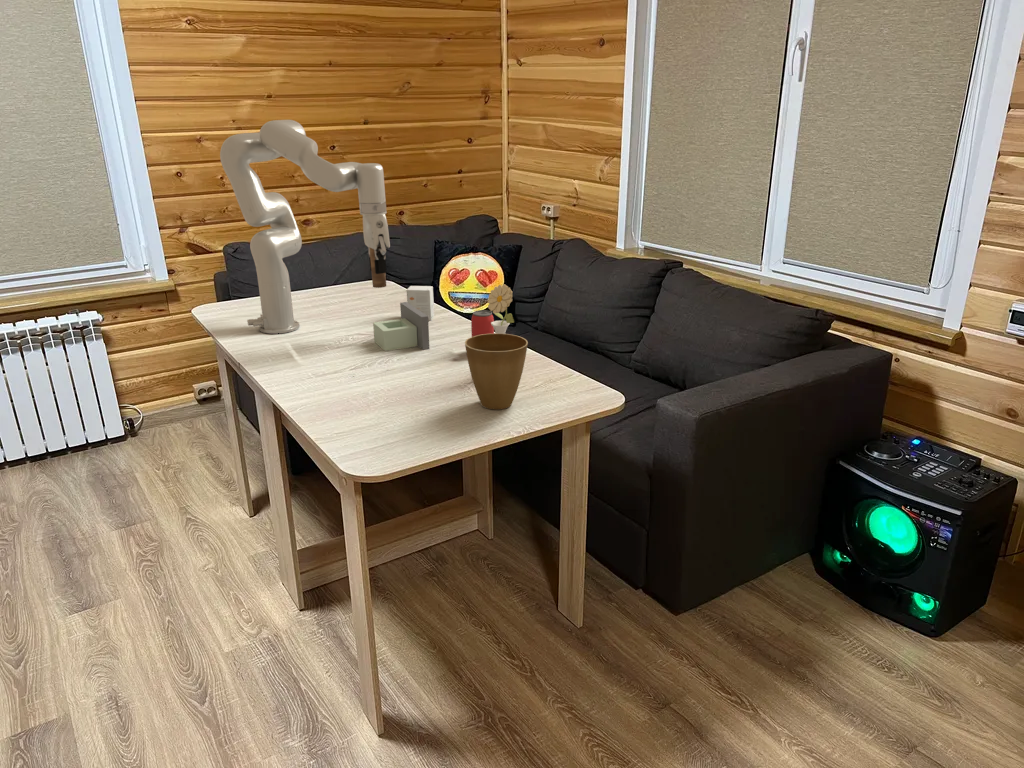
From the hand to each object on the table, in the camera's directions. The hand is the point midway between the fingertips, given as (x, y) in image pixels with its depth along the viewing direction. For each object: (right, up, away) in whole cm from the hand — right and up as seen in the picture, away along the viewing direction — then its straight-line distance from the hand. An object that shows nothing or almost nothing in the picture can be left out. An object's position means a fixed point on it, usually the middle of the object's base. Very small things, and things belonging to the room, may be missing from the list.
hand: (378, 271), depth 220 cm
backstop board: (+1, -23, +2) cm, 23 cm away
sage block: (+5, -21, +3) cm, 22 cm away
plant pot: (+36, -38, -37) cm, 64 cm away
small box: (+9, -11, +33) cm, 36 cm away
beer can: (+31, -24, 0) cm, 39 cm away
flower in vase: (+37, -30, -17) cm, 50 cm away
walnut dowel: (0, -4, +2) cm, 4 cm away
